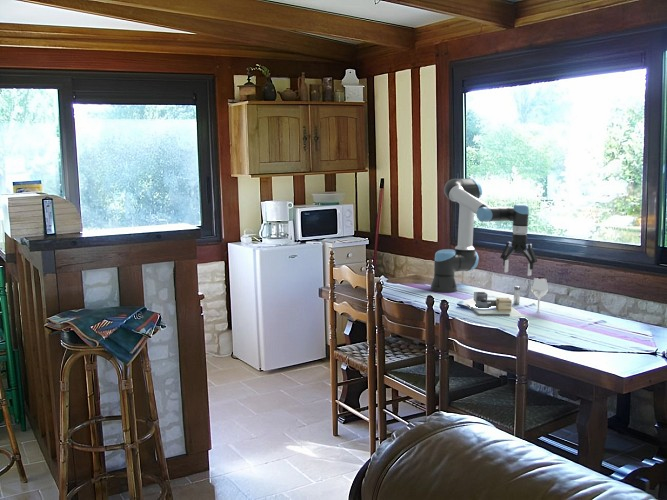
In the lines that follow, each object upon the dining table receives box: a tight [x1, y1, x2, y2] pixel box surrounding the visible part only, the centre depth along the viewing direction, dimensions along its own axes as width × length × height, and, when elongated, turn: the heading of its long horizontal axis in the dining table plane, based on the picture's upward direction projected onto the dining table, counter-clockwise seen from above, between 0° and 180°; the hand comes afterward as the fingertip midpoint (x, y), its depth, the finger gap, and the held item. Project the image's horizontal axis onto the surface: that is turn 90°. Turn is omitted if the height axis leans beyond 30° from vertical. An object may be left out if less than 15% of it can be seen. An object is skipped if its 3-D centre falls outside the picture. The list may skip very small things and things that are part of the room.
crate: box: [495, 297, 512, 312], centre depth 353 cm, size 6×6×6 cm
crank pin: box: [513, 285, 521, 306], centre depth 368 cm, size 3×3×10 cm
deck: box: [468, 305, 525, 318], centre depth 354 cm, size 29×23×1 cm
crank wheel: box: [473, 291, 496, 308], centre depth 361 cm, size 14×18×6 cm
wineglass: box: [530, 276, 549, 314], centre depth 350 cm, size 8×8×18 cm
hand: (517, 273), depth 366 cm, fingers open, 13 cm apart
